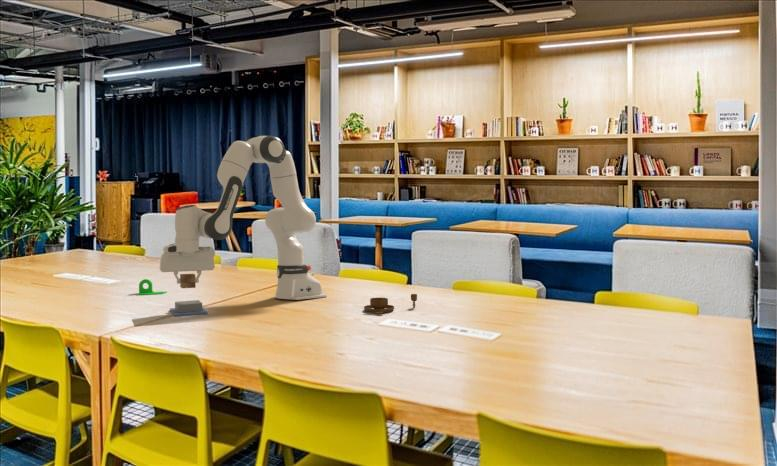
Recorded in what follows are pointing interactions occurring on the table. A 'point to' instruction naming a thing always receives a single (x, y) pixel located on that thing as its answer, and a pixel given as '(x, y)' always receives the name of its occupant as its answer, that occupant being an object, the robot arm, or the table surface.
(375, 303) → the place setting
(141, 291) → the mechanical part
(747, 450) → the table surface
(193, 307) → the base
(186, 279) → the walnut cube
